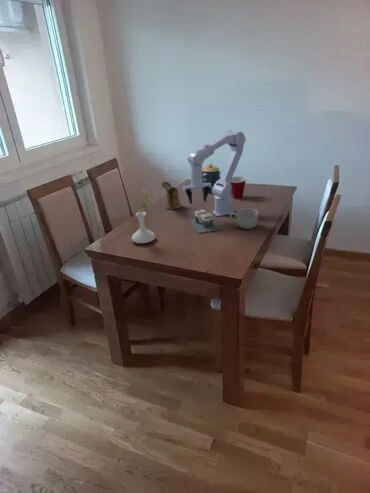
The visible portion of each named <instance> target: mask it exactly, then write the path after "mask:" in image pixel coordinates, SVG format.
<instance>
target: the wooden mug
mask: <svg viewBox="0 0 370 493" xmlns="http://www.w3.org/2000/svg"><path fill="white" fill-rule="evenodd" d="M160 185H161V186H162V188H163V189H164V190H166V194H165V195H166V201H165V202H166V203H165V209H167V210H173V211H174V210H178V209H180V208H181V206H182V205H181V202H180V197H179V190H178V187H175V186H174V187H173V186H172V184H171V183H169V182H167V181H163V182H161V184H160Z"/></svg>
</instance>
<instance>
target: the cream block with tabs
mask: <svg viewBox="0 0 370 493" xmlns="http://www.w3.org/2000/svg"><path fill="white" fill-rule="evenodd" d="M194 216H195V218H194V219H195V220H196V223H199V218H200V219H202V221H204V228H207V221H209V220H210V226H211V227H212V226H213V220H214V214H212V213H210V212H208V211H206V210H205V209H200V210H196V211H194Z"/></svg>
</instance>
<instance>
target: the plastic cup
mask: <svg viewBox="0 0 370 493" xmlns="http://www.w3.org/2000/svg"><path fill="white" fill-rule="evenodd" d="M246 182H247V177H246V176H242V175H241V176H233V177H232V179H231V181H230V184H231V186H232V188H231V194H232V199H234V198H235V199H234V200H240V199H239V198H241V199H243V197H244V192H245V186H246Z"/></svg>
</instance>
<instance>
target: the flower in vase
mask: <svg viewBox="0 0 370 493" xmlns="http://www.w3.org/2000/svg"><path fill="white" fill-rule="evenodd" d="M140 193H141V196H142V201H141V205H140V206H141V208H137V211H138V212H136V213H135V216H136V217H137V219H138V224H139V228H138V230H137V231H135V232H134V233H133V235H132V236H131V240H132V241H133V242H134V243H136V244H146V243H147V244H148V243H150V242H152V241H154V240H155V239H156V235H155V233H154V232H153V231H152V230H149V229H147V227H146V226H145V217H146V216H147V212H146V211H143V209H146V208H147V207H148V204H152V201H153V199H152V198H151V197H152V195H151V194H150V192H149V190H147V189H146V188H144V187H143V188H141V190H140ZM144 201H145V202H146V203H145V202H144Z"/></svg>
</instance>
